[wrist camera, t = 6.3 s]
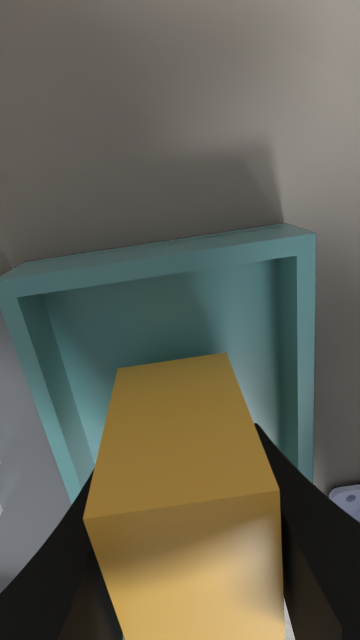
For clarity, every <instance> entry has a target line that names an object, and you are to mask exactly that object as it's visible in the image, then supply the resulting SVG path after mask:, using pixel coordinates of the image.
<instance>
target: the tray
mask: <svg viewBox="0 0 360 640" xmlns="http://www.w3.org/2000/svg"><path fill="white" fill-rule="evenodd" d="M315 286H316V233H314V232H311V231H308V230H305V229H302V228H299V227H296V226H293V225H289V224H286V223H282V224H275V225H268V226H262V227H255V228H248V229H242V230H235V231H228V232H221V233H215V234H208V235H201V236H195V237H188V238H181V239H175V240H168V241H161V242H155V243H148V244H141V245H134V246H128V247H121V248H114V249H108V250H101V251H94V252H88V253H81V254H74V255H68V256H61V257H54V258H47V259H41V260H34V261H27V262H24V263H22V264H20V265H19V266H17V267H15V268H13V269H12V270H10V271H8V272H7V273H5V274H3V275H1V276H0V309H1V312H2V314H3V317H4V320H5V323H6V325H7V328H8V331H9V334H10V336H11V339H12V342H13V345H14V347H15V350H16V353H17V356H18V358H19V361H20V364H21V367H22V369H23V372H24V375H25V378H26V380H27V383H28V386H29V389H30V391H31V394H32V397H33V400H34V402H35V405H36V408H37V411H38V413H39V416H40V419H41V422H42V424H43V427H44V430H45V433H46V435H47V438H48V441H49V444H50V447H51V449H52V452H53V455H54V458H55V460H56V463H57V466H58V469H59V471H60V474H61V477H62V480H63V482H64V485H65V488H66V491H67V493H68V496H69V499H70V502H71V504H72V503H73V502H74V500H75V499H76V497H77V496H78V494H79V493H80V491H81V489H82V488H83V486H84V484H85V483H86V481H87V480H88V478H89V476H90V474H91V473H92V471H93V469H94V468H95V464H96V460H97V455H98V451H99V447H100V443H101V438H102V434H103V430H104V425H105V421H106V417H107V412H108V408H109V404H110V399H111V395H112V391H113V387H114V382H115V378H116V374H117V369H118V368H123V367H130V366H137V365H144V364H150V363H157V362H164V361H171V360H177V359H184V358H191V357H198V356H204V355H211V354H218V353H225V352H226V353H227V356H228V358H229V361H230V363H231V366H232V368H233V371H234V374H235V376H236V379H237V381H238V384H239V386H240V389H241V392H242V394H243V397H244V399H245V402H246V405H247V407H248V410H249V412H250V415H251V417H252V420H253V423H257V424H258V425H260V427H261V428H262V429H263V431H264V432H265V433H266V434H267V436H268V437H269V438H270V439H271V441H272V442H273V443H274V444H275V445H276V446H277V448H278V449H279V450H280V451H281V452H282V453H283V454H284V455H285V456H286V458H287V459H288V460H289V461H290V462H291V463H292V464H293V465H294V466H295V467H296V468H297V469H298V470H299V471H300V472H301V473H302V474H303V475H304V476H305V477H306V478H307V479H308V480H309V481H310V482H311V483H313V423H314V354H315Z"/></svg>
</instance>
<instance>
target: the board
mask: <svg viewBox="0 0 360 640" xmlns="http://www.w3.org/2000/svg"><path fill="white" fill-rule="evenodd" d="M71 505H72V504H71V502H70V499H69V496H68V493H67V491H66V488H65V485H64V482H63V480H62V477H61V474H60V471H59V469H58V466H57V463H56V460H55V458H54V455H53V452H52V449H51V447H50V444H49V441H48V438H47V435H46V433H45V430H44V427H43V424H42V422H41V419H40V416H39V413H38V411H37V408H36V405H35V402H34V400H33V397H32V394H31V391H30V389H29V386H28V383H27V380H26V378H25V375H24V372H23V369H22V367H21V364H20V361H19V358H18V356H17V353H16V350H15V347H14V345H13V342H12V339H11V336H10V334H9V331H8V328H7V325H6V323H5V320H4V317H3V314H2V312H1V309H0V593H1V592H2V591H3V590H4V589H5V588H6V587H7V586H8V585H9V584H10V582H11V581H12V580H13V579H14V578H15V577H16V576H17V575H18V574H19V572H20V571H21V570H22V569H23V568H24V567H25V565H26V564H27V563H28V562H29V561H30V560H31V558H32V557H33V556H34V555H35V554H36V552H37V551H38V550H39V549H40V548H41V546H42V545H43V544H44V542H45V541H46V540H47V539H48V537H49V536H50V535H51V533H52V532H53V531H54V529H55V528H56V527H57V525H58V524H59V522H60V521H61V520H62V518H63V517H64V515H65V514H66V512H67V511H68V509H69V508H70V506H71ZM123 640H125V638H124V635H123Z"/></svg>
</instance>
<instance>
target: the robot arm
mask: <svg viewBox="0 0 360 640" xmlns="http://www.w3.org/2000/svg"><path fill="white" fill-rule="evenodd" d="M254 425H255V428H256V430H257V433H258V435H259V438H260V441H261V443H262V446H263V448H264V451H265V454H266V456H267V459H268V461H269V464H270V466H271V469H272V472H273V474H274V477H275V479H276V482H277V484H278V487H279V490H280V512H281V540H282V567H283V595H284V599H285V602H286V606H287V610H288V613H289V617H290V621H291V625H292V628H293V632H294V636H295V640H360V484H358V485H351V486H344V487H338V488H335V489H333V490H332V491H331V492H330V494H329V498H328V497H327V496H326V495H325V494H324V493H322V492H321V491H320V490H319V489H318V488H317V487H316V486H315V485H314V484H313V483H311V482H310V481H309V480H308V479H307V478H306V477H305V476H304V475H303V474H302V473H301V472H300V471H299V470H298V469H297V468H296V467H295V466H294V465H293V464H292V463H291V462H290V461H289V460H288V459H287V458H286V456H285V455H284V454H283V453H282V452H281V451H280V450H279V449H278V448H277V446H276V445H275V444H274V443H273V442H272V441H271V439H270V438H269V437H268V436H267V434H266V433H265V432H264V431H263V429H262V428H261V427H260V425H258V424H257V423H254ZM93 473H94V469H93V471H92V473H91V474H90V476H89V478H88V480H87V481H86V483H85V484H84V486H83V488H82V489H81V491H80V493H79V494H78V496H77V497H76V499H75V500H74V502H73V503H72V505H71V506H70V508H69V509H68V511H67V512H66V514H65V515H64V517H63V518H62V520H61V521H60V522H59V524H58V525H57V527H56V528H55V529H54V531H53V532H52V533H51V535H50V536H49V537H48V539H47V540H46V541H45V542H44V544H43V545H42V546H41V548H40V549H39V550H38V551H37V552H36V554H35V555H34V556H33V557H32V558H31V560H30V561H29V562H28V563H27V564H26V565H25V567H24V568H23V569H22V570H21V571H20V572H19V574H18V575H17V576H16V577H15V578H14V579H13V580H12V581H11V582H10V584H9V585H8V586H7V587H6V588H5V589H4V590H3V591H2V592H1V593H0V640H123V632H122V629H121V626H120V623H119V620H118V618H117V615H116V612H115V609H114V606H113V603H112V601H111V598H110V595H109V592H108V589H107V586H106V584H105V581H104V578H103V575H102V572H101V569H100V567H99V564H98V561H97V558H96V555H95V552H94V550H93V547H92V544H91V541H90V538H89V535H88V533H87V530H86V527H85V524H84V521H83V516H84V511H85V507H86V503H87V499H88V494H89V490H90V486H91V481H92V477H93Z"/></svg>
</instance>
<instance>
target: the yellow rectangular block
mask: <svg viewBox="0 0 360 640" xmlns="http://www.w3.org/2000/svg"><path fill="white" fill-rule="evenodd" d="M83 521H84V524H85V527H86V530H87V533H88V535H89V538H90V541H91V544H92V547H93V550H94V552H95V555H96V558H97V561H98V564H99V567H100V569H101V572H102V575H103V578H104V581H105V584H106V586H107V589H108V592H109V595H110V598H111V601H112V603H113V606H114V609H115V612H116V615H117V618H118V620H119V623H120V626H121V629H122V632H123V635H124V638H125V640H285V622H284V595H283V567H282V540H281V512H280V490H279V487H278V484H277V482H276V479H275V477H274V474H273V472H272V469H271V466H270V464H269V461H268V459H267V456H266V454H265V451H264V448H263V446H262V443H261V441H260V438H259V435H258V433H257V430H256V428H255V425H254V423H253V420H252V417H251V415H250V412H249V410H248V407H247V405H246V402H245V399H244V397H243V394H242V392H241V389H240V386H239V384H238V381H237V379H236V376H235V374H234V371H233V368H232V366H231V363H230V361H229V358H228V356H227V353H226V352H225V353H218V354H211V355H204V356H198V357H191V358H184V359H177V360H171V361H164V362H157V363H150V364H144V365H137V366H130V367H123V368H118V369H117V374H116V378H115V382H114V387H113V391H112V395H111V399H110V404H109V408H108V412H107V417H106V421H105V425H104V430H103V434H102V438H101V443H100V447H99V451H98V455H97V460H96V464H95V468H94V473H93V477H92V481H91V486H90V490H89V494H88V499H87V503H86V507H85V511H84V516H83Z"/></svg>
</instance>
